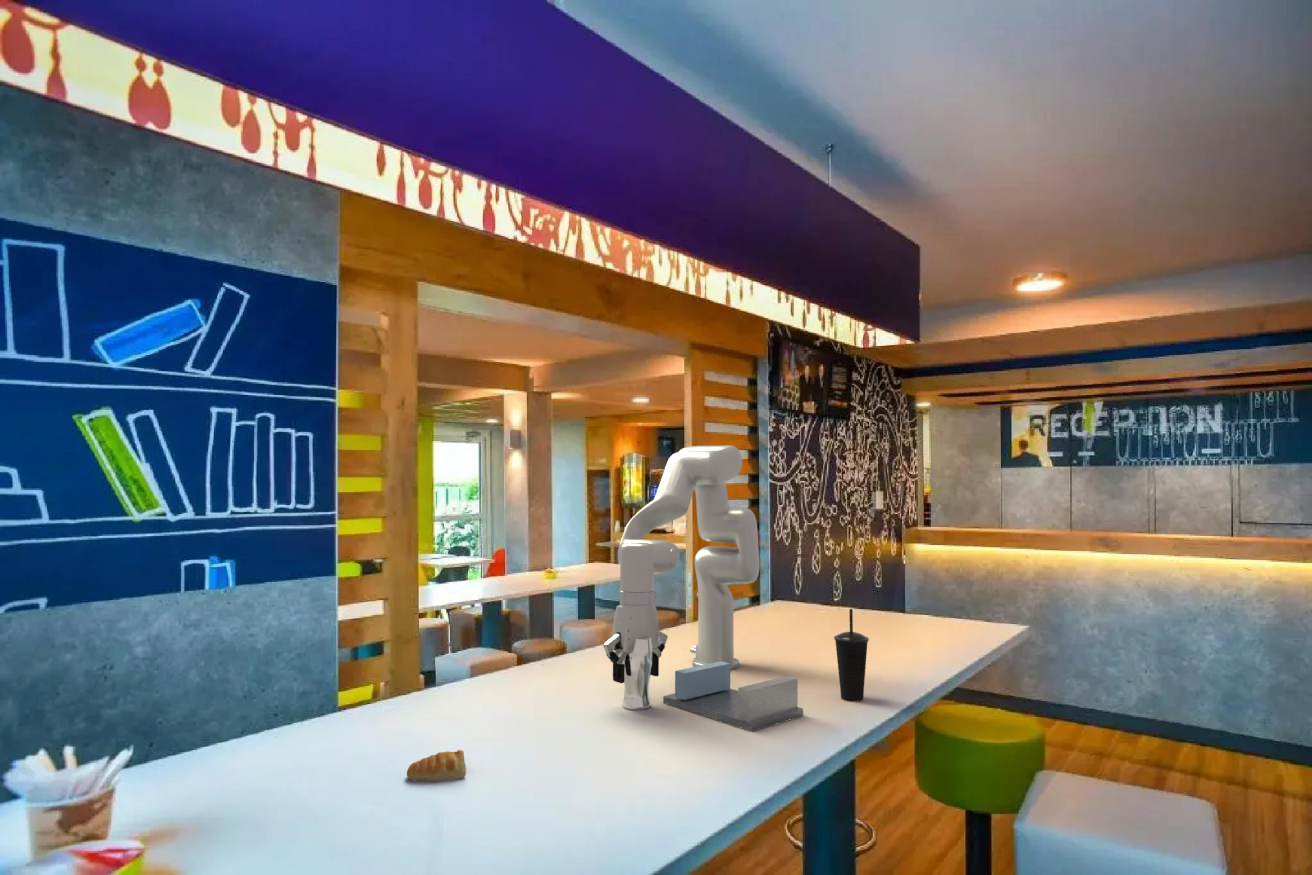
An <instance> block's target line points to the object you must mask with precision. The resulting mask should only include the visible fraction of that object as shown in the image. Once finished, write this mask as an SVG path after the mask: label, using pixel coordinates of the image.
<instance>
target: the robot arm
mask: <svg viewBox="0 0 1312 875" xmlns="http://www.w3.org/2000/svg"><path fill="white" fill-rule="evenodd" d="M742 466H743V458H742V454H741V451H740V450H739V448H737V447H736V446H735V445H731V444H729V445H693V446H692V445H691V446H685V447H683V448H681V449H679V451H677V452H675V453H672V455H670V457H669V458H668V460H667V462H666V464H665V467H664V470H663V474H662V476H661V479H660V482H659V485H658V487H657V490H656V493H655V495H654V499H653V500H651V501H650V502H648V503H647V504H646V505H645V506H643V507H642V508H641V509H640V510H639V511H637V512H636V514H634V515H633V517H632V518H630V520H629V521H628V523H627V524H626V526H625V529H624V531H623V533H622V536H621V539H620V542H619V546H618V549H617V561H618V564H619V566H620V568H619V570H620V571H619V578H620V579H619V605H616V609H615V612H614V616H613V624H612V637H610V638H609V639H608V640H607V641H605V642H604V643H603V649H604V651H605V655H606V656H607V658H608V659H609V660H610V662H611V663H612V681H613V682H616V683H618V684H624V679H625V665H624V664H622V662H623V661H624V659H625V657H626V655H627V654H631V653H633V651H634V647H635V643H636V639H645V638H649V637H652V648H653V662H652V669H651V675H650V676H653V677H659V674H660V673H659V672H660V668H659V667H660V666H659V665H660V662H659V661H660V658H661V657H662V653H663V651H664V650H665V648H666V646H665V645H666V643H667V640H668V634H665V633H664V632H662V631H660V630H659V617H658V611H657V605H656V604H655V598H657V592H656V591H655V574H668V573H671V572H673V571H674V570H675V569H676V568H677V567H678V565H679V563H680V557H681V556H680V550H679V549H678V547H677V545H676V544H675V543H674V542H672V541H669V540H663V539H648V538H646V539H645V537H646V536H647V535H648V534H650V532H652V531H653V530H655V529H657V528H659V527H661V526H663V525H665V524H669V523H671V522H673V521H676V520H678V519H680V518H682V517H683V516H685V515H686V514H687V513H688V510H689V508H690V504H691V502H692V498H693V495H694V492H695V500H696V514H697V515H696V516H697V529H698V534H699V537H700V538H701V539H702V540H703V541H706V542H711V543H725V544H726V543H728V544H729V543H730V544H736V547H735V546H718V545H717V546H716V545H715V546H712V545H711V546H704V547H702V548H700V549H699V550H698V551H697V553H696V554H695V557H694V570H695V571H694V572H695V575H696V581H697V582H696V583H697V596H698V601H697V602H698V604H697V606H698V607H697V608H698V609H697V611H698V613H697V615H698V616H697V618H698V620H697V621H698V622H697V625H698V626H697V627H698V629H697V631H698V632H697V633H698V634H697V635H698V636H697V637H698V640H697V642H698V643H697V644H694V645H693V646H692V647H690V648H689V651H690V653H692V654H695V657H694V658H693V659H692V661H691V662H692V665H693V667H696V666H701V665H706V664H710V663H715V662H720V661H722V662H726V663H730V670H732V669H736V668H738V667H739V666H740V660H739V659H737V658H736V657H734V655H735V654H734V652H735V651H734V649H735V648H734V647H735V646H734V637H735V636H734V634H735V633H734V607H735V606H734V597H733V593H732V592H731V590H730V589H729V587H728V585H727V584H741V585H743V584H746V585H748V584H752V583H755V582H756V581H757V580H758V578H759V573H760V551H759V550H760V548H759V534H758V522H757V518H756V515H755V514H754V512H753V511H752V510H751V509H750V508H747V507H744V506H743V507H739V506H737V507H736V506H730V504H729V501H728V499H729V498H728V489H727V488H728V487H727V486H726V484H725V483H726V482H728V481H730V480H733V479H735V478H737V476H738V475H739V474H740V472H741V469H742ZM622 648H623V649H622Z"/></svg>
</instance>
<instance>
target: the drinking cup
mask: <svg viewBox="0 0 1312 875" xmlns="http://www.w3.org/2000/svg"><path fill="white" fill-rule="evenodd" d="M848 613H849V631H842V632H841V633H839V634H837V635H834V636H833V640H834V641H835V650H836V660H837V667H838V668H837V669H838V680H839V690H840V699H841V700H843V699H844V700H843V701H846V700H847V701H846V702H852V701H857V702H862V701H863V700H864V695H865V693H864V692H865V691H864V690H865V679H866V667H867V666H866V665H867V653H868V652H867V651H868V643H869V640H870V638H869V637H868V636H866V635H864V634H861V633H859V632H856V631H853V630H854V624H853V622H854V621H853V617H854V616H853V615H854V614H853V608H849V612H848Z"/></svg>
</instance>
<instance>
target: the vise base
mask: <svg viewBox="0 0 1312 875" xmlns="http://www.w3.org/2000/svg"><path fill="white" fill-rule="evenodd" d="M798 682H799V681H798V678H796V677H792V676H787V675H786V676H782V677H781V676H780V677H777V678H773V679H768V680H765V681H761V682H756V683H753V684H749V685H745V686H741V687H738V688H737V690H736V689H733V688H730V689H727V690H723V691H718V692H714V693H710V694H706V695H702V696H698V697H694V698H690V699H686V700H683V699H680V698H677V697H675V692H674V693H672V694H666V695H663V697H662V700H663V704H666V705H668V706H671V707H675V708H677V709H681V710H683V711H686V712H690V713H691V714H692V713H693V714H696V715H699V716H703V717H706V718H708V719H711V718H712V719H711V720H714V719H716V720H715V721H717V720H719V721H718V722H720V721H721V722H720V723H723V722H724V723H725V724H727V723H729V724H728V725H730V724H731V725H730V726H733V725H734V726H733V727H736V726H737V727H736V728H739V727H742V728H744V729H743V730H745V729H746V731H748V730H749V731H748V732H751V731H752V732H754V731H755V732H756V731H758V730H757V729H759V728H762V729H764V728H763V727H765V728H768V727H771V726H770V725H772V726H774V725H773V724H775V725H777V724H776V723H778V724H781V723H784V721H785V722H787V721H786V720H788V721H790V720H789V719H791V720H793V719H792V718H794V719H797V718H796V717H798V718H800V717H799V716H801V717H803V716H804V708H803V707H800V706H798V704H799V702H798V701H799V700H798V699H799V698H798V695H799V694H798V693H799V692H798V689H799V688H798ZM802 715H803V716H802ZM742 728H741V729H742ZM759 730H760V729H759Z"/></svg>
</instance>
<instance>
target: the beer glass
mask: <svg viewBox="0 0 1312 875" xmlns="http://www.w3.org/2000/svg"><path fill="white" fill-rule="evenodd" d="M622 649H623V648H622ZM652 662H653V648H652V637H649V638H645V639H636V643H635V647H634V651H633V653H631V654H627V655H626V657H625V659H624V661H623V662H622V664H624V665H625V679H624V683H623V685H624V689H623V690H624V693H623V699H622V707H623V708H624V709H626V710H632V711H643V710H646V709H649V708H651V701H650V700H651V699H650V694H649V690H650V689H649V687H650V680H651V676H652V675H651V669H652Z"/></svg>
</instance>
